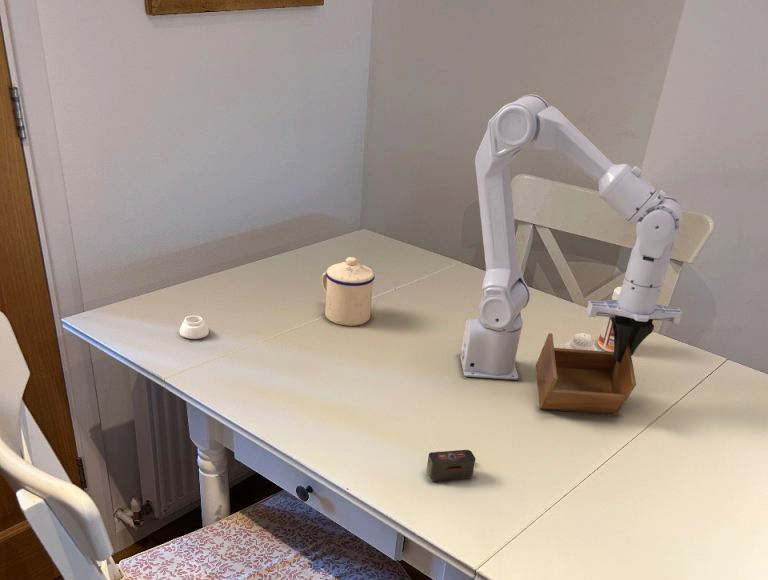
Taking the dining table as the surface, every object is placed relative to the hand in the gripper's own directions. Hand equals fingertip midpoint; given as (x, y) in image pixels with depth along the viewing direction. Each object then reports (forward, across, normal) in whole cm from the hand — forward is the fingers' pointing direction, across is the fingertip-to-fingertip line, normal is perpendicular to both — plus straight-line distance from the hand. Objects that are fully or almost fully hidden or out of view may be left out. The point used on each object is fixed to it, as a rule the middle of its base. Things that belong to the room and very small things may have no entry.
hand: (620, 359), depth 128 cm
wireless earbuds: (+8, -29, -23) cm, 38 cm away
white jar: (+8, -72, +14) cm, 73 cm away
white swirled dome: (+8, -3, +11) cm, 14 cm away
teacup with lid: (+8, -46, +27) cm, 54 cm away
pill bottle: (+8, +6, +21) cm, 23 cm away
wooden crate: (+6, -6, -1) cm, 9 cm away
